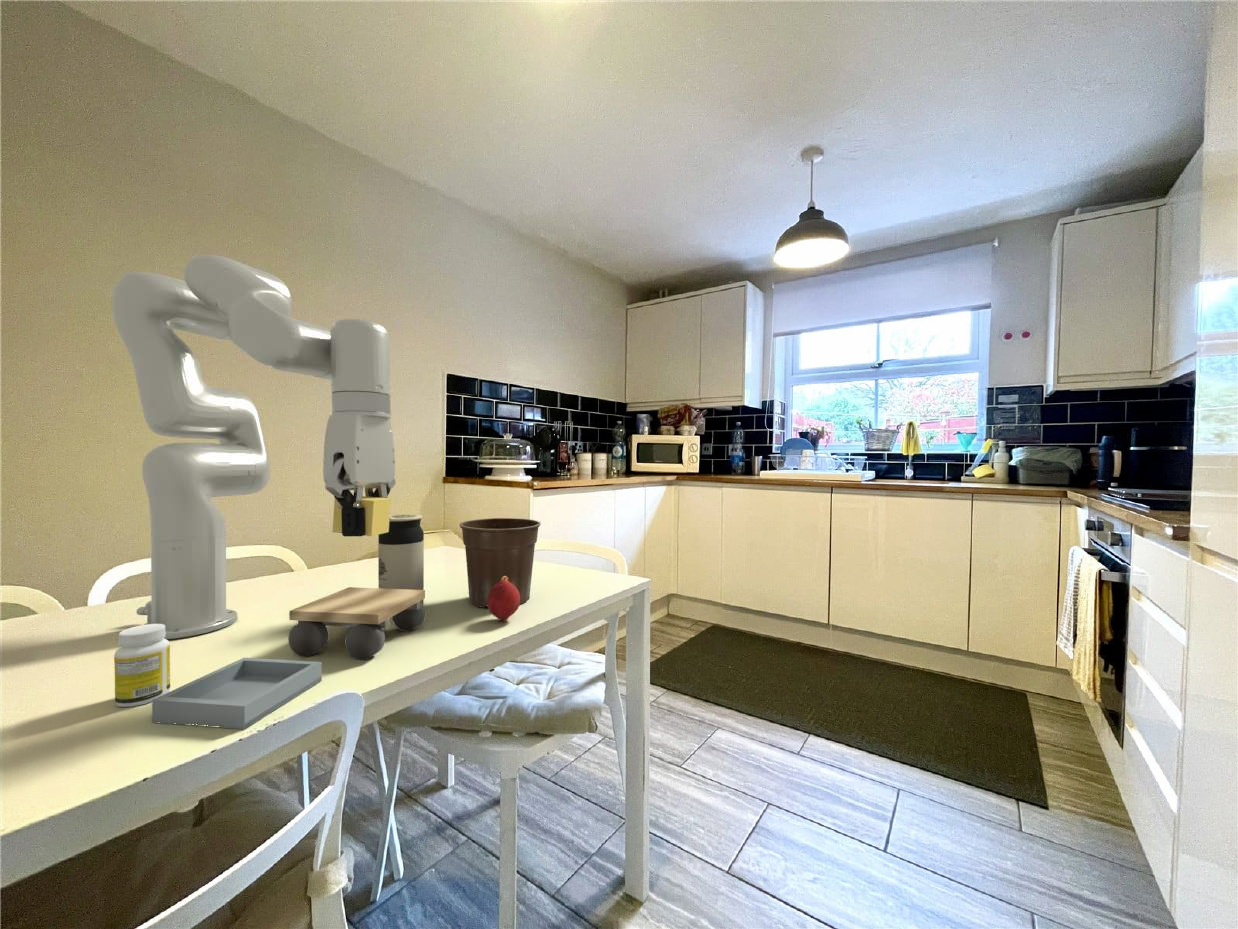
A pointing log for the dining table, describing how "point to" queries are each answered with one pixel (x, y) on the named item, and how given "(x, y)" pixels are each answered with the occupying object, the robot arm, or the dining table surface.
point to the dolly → (355, 619)
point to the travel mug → (402, 554)
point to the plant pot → (499, 555)
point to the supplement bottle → (141, 665)
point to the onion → (503, 599)
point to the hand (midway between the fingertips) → (364, 532)
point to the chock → (368, 515)
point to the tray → (237, 693)
